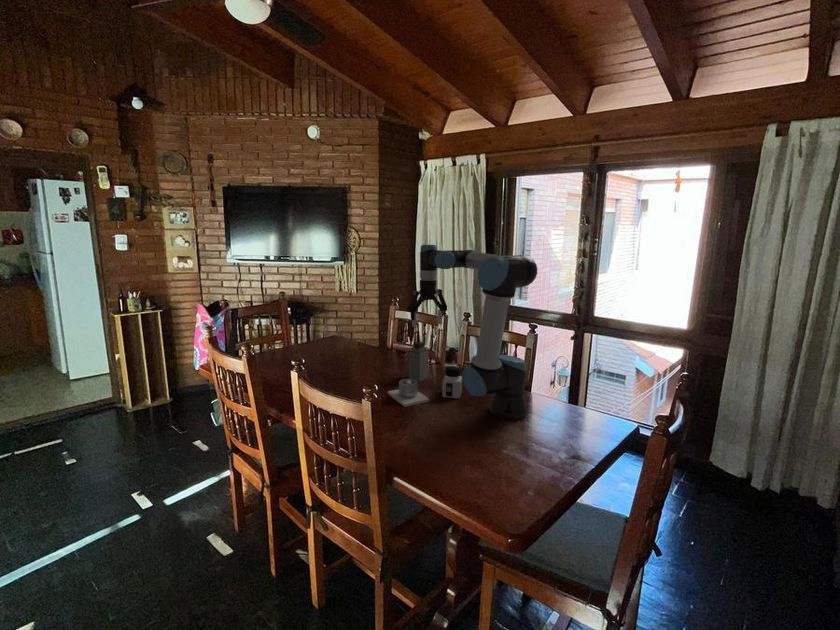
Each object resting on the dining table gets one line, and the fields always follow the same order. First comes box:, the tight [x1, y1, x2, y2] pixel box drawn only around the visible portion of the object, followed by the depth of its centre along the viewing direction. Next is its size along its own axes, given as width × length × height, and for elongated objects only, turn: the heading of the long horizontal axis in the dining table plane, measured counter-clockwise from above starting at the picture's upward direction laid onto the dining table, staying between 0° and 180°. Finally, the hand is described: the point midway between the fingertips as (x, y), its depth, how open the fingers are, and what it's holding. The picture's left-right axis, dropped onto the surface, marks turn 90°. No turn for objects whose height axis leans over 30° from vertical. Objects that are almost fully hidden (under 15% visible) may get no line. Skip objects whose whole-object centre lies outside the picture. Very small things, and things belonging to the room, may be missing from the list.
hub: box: [398, 378, 419, 396], centre depth 191 cm, size 8×8×5 cm
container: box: [441, 365, 463, 399], centre depth 195 cm, size 8×8×13 cm
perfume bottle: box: [408, 341, 429, 383], centre depth 214 cm, size 7×7×18 cm
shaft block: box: [387, 381, 430, 408], centre depth 191 cm, size 16×12×7 cm
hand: (427, 325), depth 202 cm, fingers open, 13 cm apart
